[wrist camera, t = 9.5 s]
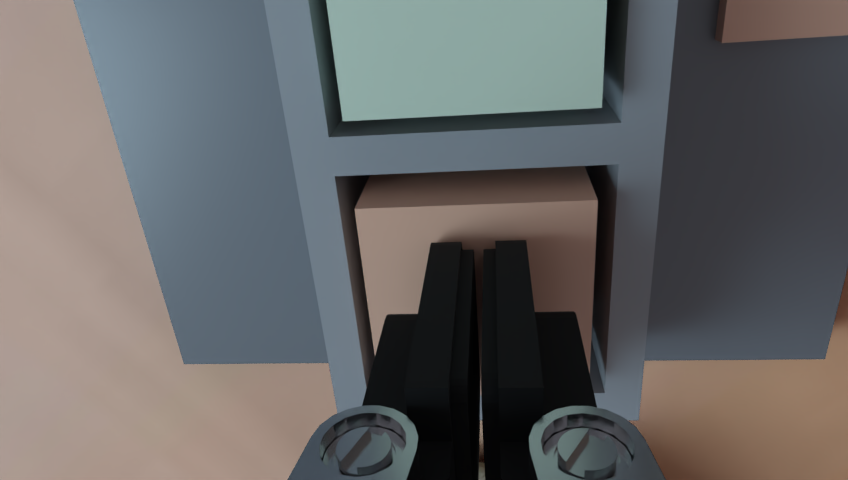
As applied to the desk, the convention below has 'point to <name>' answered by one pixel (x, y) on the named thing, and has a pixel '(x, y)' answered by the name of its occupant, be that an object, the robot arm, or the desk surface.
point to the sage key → (466, 56)
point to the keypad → (490, 150)
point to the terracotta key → (480, 235)
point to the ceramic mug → (481, 471)
